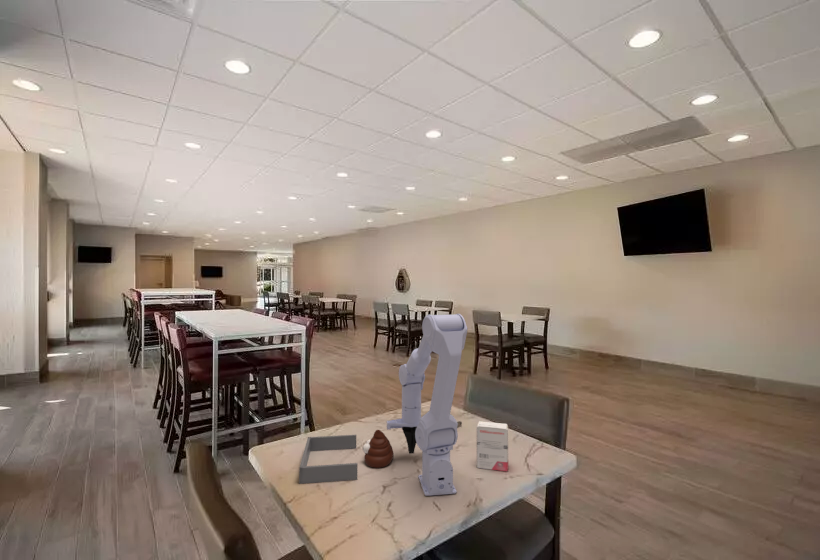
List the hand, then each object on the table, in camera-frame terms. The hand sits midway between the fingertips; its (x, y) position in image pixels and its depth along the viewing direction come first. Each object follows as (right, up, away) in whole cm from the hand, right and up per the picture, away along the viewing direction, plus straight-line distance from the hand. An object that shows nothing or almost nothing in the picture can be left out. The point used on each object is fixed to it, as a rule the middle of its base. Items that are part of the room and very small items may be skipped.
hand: (411, 451), depth 111 cm
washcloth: (+8, -3, +25) cm, 26 cm away
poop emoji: (-9, -2, -1) cm, 10 cm away
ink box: (+23, -2, -4) cm, 24 cm away
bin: (-23, -2, -4) cm, 23 cm away
